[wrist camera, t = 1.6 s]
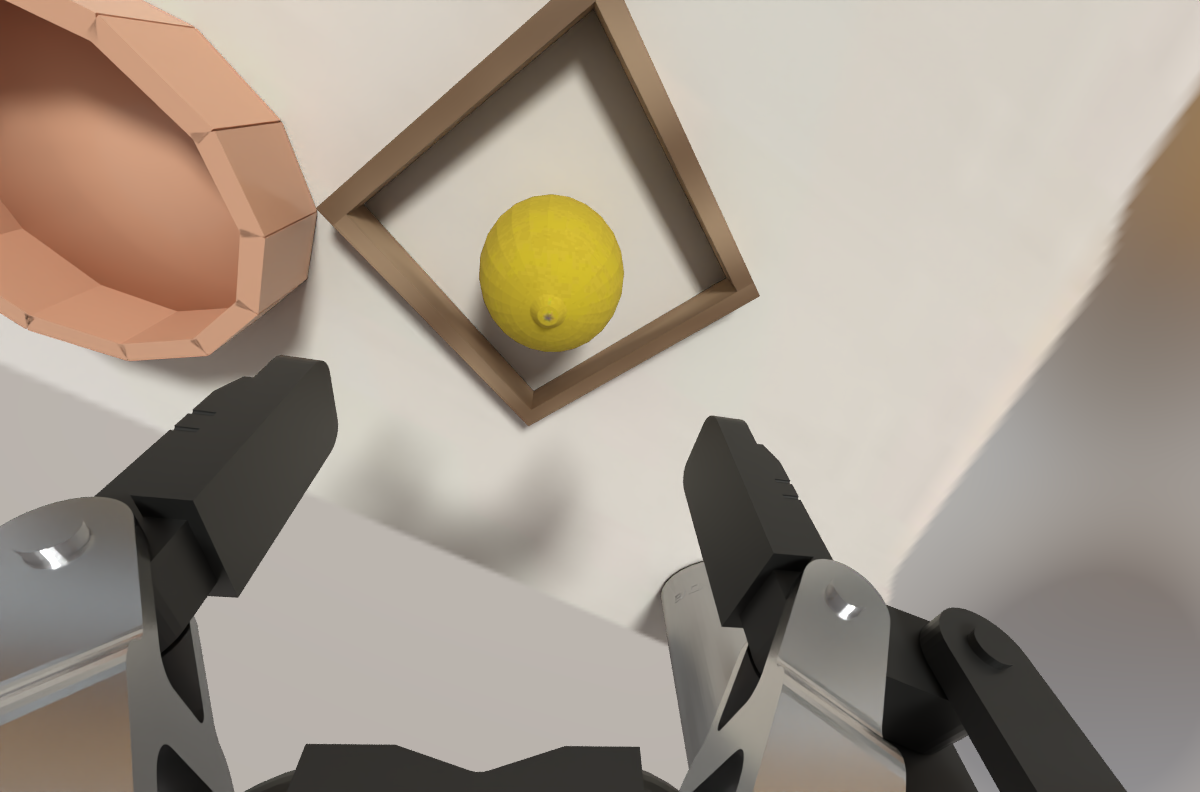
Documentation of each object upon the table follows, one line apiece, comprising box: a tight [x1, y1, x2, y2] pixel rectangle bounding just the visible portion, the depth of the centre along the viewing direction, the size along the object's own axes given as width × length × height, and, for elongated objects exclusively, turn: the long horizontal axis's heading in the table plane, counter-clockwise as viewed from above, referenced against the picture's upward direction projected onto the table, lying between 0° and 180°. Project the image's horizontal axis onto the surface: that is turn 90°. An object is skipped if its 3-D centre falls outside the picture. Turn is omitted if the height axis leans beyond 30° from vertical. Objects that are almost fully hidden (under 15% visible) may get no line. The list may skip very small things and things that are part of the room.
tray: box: [316, 0, 760, 426], centre depth 20 cm, size 14×14×2 cm
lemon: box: [479, 194, 624, 352], centre depth 17 cm, size 6×6×8 cm
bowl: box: [0, 0, 317, 361], centre depth 17 cm, size 13×13×4 cm
